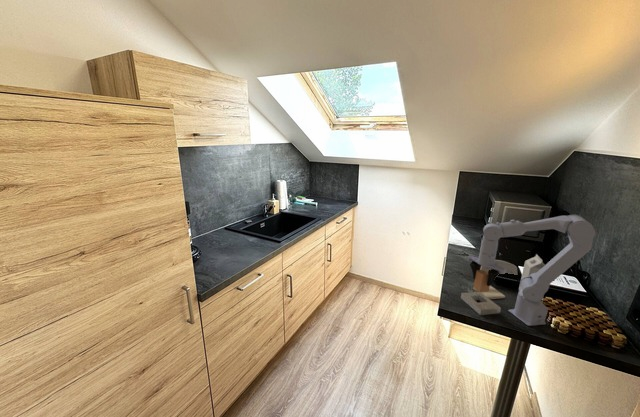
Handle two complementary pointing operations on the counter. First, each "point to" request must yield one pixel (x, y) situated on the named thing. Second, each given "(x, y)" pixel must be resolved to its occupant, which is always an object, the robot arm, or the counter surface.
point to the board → (492, 293)
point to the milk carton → (532, 267)
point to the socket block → (484, 306)
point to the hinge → (508, 266)
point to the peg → (481, 281)
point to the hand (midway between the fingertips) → (482, 282)
